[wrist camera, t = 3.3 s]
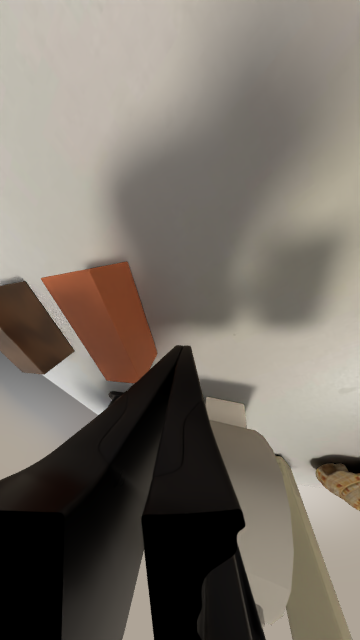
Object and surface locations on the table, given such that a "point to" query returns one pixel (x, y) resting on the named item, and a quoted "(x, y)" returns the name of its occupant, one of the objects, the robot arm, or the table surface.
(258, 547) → the alarm clock
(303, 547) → the box
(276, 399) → the table surface
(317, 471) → the seashell
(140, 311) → the terracotta bar
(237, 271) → the table surface
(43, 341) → the walnut bar
